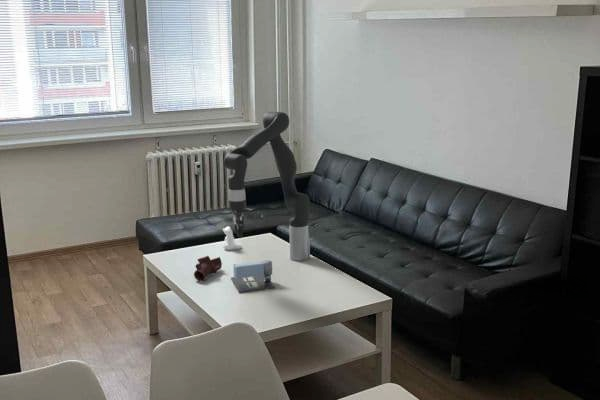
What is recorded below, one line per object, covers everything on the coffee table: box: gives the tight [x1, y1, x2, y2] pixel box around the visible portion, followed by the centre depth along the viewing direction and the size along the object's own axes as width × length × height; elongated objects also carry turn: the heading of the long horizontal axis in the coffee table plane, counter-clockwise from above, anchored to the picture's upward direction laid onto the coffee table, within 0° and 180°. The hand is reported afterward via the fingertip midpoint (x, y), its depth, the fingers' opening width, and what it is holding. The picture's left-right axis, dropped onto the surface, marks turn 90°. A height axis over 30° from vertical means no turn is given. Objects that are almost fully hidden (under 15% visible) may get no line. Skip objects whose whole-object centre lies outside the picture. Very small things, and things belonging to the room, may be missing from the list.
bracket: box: [193, 255, 223, 282], centre depth 321 cm, size 6×17×10 cm, turn 160°
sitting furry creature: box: [222, 226, 243, 251], centre depth 360 cm, size 10×9×12 cm
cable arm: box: [233, 259, 273, 279], centre depth 308 cm, size 17×5×6 cm, turn 107°
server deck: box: [230, 274, 276, 294], centre depth 309 cm, size 16×18×4 cm
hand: (238, 235), depth 309 cm, fingers open, 5 cm apart
